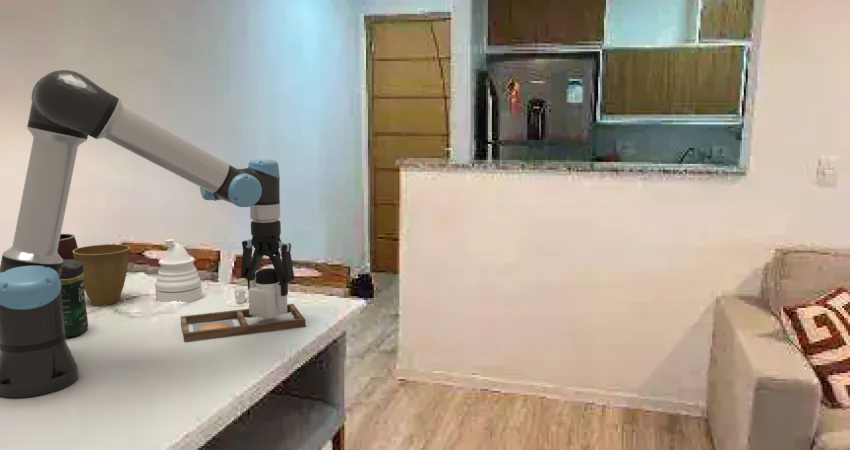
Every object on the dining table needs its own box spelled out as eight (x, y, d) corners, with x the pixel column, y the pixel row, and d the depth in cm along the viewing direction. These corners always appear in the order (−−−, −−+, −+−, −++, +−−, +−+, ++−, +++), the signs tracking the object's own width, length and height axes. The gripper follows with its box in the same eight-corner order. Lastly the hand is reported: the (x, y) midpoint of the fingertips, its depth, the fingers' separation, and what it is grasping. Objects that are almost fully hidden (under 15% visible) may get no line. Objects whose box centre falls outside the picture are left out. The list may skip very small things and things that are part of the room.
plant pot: (84, 312, 186) (79, 256, 183) (72, 301, 197) (67, 248, 194) (140, 302, 195) (136, 249, 192) (125, 292, 206) (121, 241, 204)
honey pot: (174, 306, 191) (170, 245, 188) (147, 300, 198) (142, 240, 195) (211, 296, 202) (207, 237, 199) (183, 290, 209) (179, 233, 206)
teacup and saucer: (239, 298, 201) (239, 284, 200) (261, 300, 198) (261, 287, 197) (220, 305, 193) (219, 292, 193) (242, 308, 190) (241, 295, 189)
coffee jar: (80, 338, 165) (73, 264, 161) (45, 340, 163) (37, 266, 160) (93, 326, 174) (86, 256, 171) (60, 327, 173) (53, 257, 170)
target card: (236, 332, 169) (236, 330, 169) (195, 337, 165) (195, 335, 165) (232, 320, 178) (232, 319, 178) (192, 325, 174) (192, 323, 174)
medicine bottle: (287, 312, 177) (286, 268, 175) (268, 319, 171) (266, 273, 169) (268, 308, 181) (267, 265, 179) (248, 315, 175) (247, 270, 173)
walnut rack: (305, 326, 173) (305, 319, 172) (184, 342, 162) (183, 334, 161) (293, 310, 187) (293, 303, 186) (180, 323, 176) (180, 316, 175)
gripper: (307, 220, 172) (309, 306, 175) (241, 215, 180) (244, 297, 183) (291, 224, 165) (293, 314, 169) (223, 219, 173) (226, 304, 176)
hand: (268, 305), depth 176 cm, fingers closed on medicine bottle, 8 cm apart
